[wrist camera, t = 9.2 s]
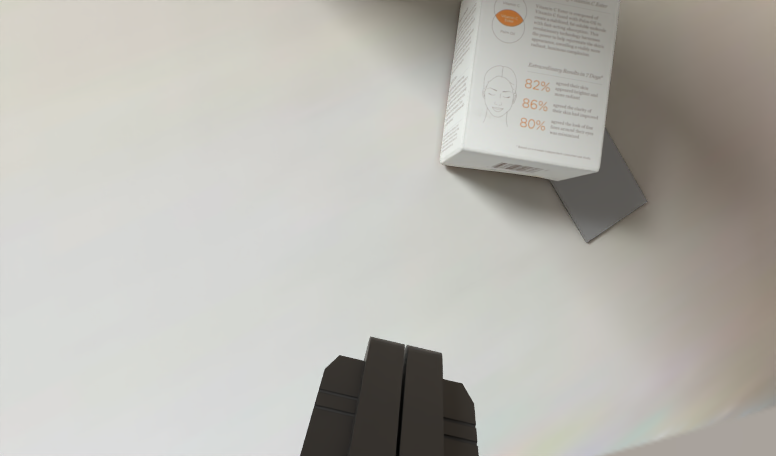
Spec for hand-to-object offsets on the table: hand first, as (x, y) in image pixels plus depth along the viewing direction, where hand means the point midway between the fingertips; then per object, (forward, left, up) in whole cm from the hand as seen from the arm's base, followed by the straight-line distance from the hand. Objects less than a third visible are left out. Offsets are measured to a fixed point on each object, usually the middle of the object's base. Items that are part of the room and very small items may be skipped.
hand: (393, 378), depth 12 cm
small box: (0, +12, -20) cm, 23 cm away
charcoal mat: (+2, +18, -23) cm, 29 cm away
